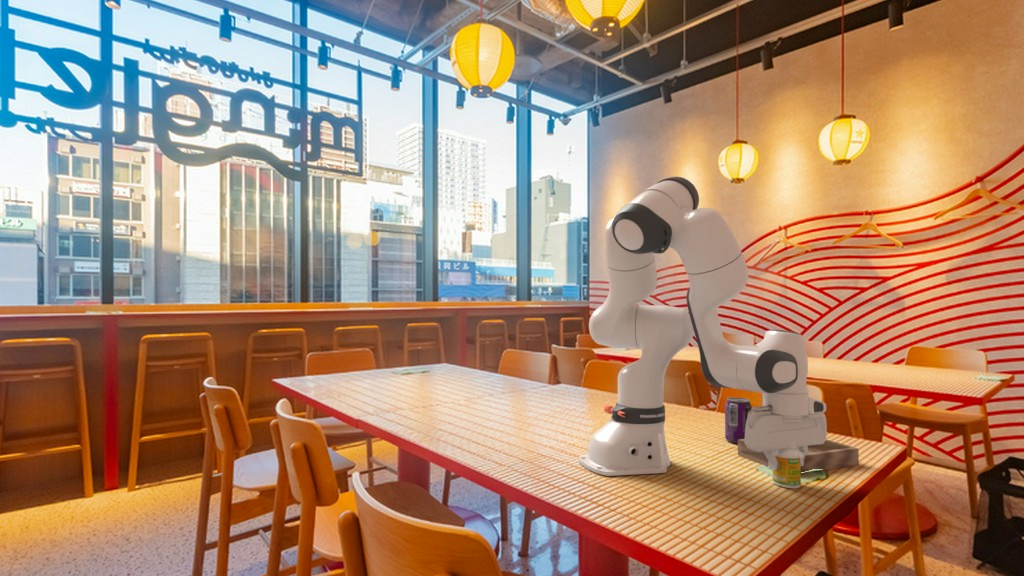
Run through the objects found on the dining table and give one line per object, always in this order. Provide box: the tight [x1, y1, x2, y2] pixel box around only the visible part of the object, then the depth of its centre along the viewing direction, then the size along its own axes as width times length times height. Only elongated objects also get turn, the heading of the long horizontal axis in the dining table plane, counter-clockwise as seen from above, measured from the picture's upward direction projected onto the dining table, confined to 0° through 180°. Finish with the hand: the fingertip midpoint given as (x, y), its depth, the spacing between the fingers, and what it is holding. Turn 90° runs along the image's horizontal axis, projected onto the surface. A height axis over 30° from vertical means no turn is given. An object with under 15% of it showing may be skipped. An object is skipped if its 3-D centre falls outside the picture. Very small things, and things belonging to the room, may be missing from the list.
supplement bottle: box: [772, 442, 802, 489], centre depth 108 cm, size 5×5×10 cm
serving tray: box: [737, 439, 860, 472], centre depth 125 cm, size 22×16×4 cm
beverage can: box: [724, 397, 753, 445], centre depth 142 cm, size 7×7×12 cm
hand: (786, 467), depth 108 cm, fingers closed on supplement bottle, 5 cm apart
